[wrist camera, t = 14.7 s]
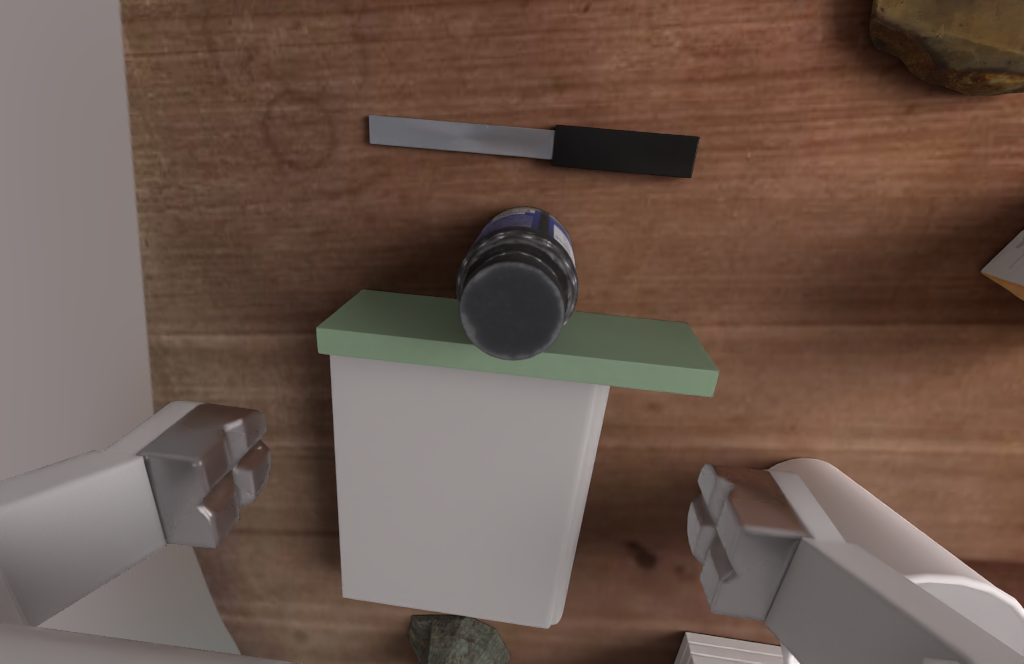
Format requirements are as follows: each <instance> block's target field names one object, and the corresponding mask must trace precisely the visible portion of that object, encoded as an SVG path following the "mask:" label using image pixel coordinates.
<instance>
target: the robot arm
mask: <svg viewBox="0 0 1024 664" xmlns="http://www.w3.org/2000/svg"><path fill="white" fill-rule="evenodd" d="M266 431H267V428H266V423H265V418H264V415H263V414H262V413H261V412H259V411H258V410H253V409H246V408H239V407H231V406H224V405H217V404H210V403H202V402H194V401H185V400H179V401H172V402H171V403H169V404H168V405H167V406H165V407H164V408H162V409H161V410H160V411H158V412H157V413H155V414H154V415H153V416H151V417H150V418H149V419H147V420H146V421H145V422H143V423H142V424H140V425H139V426H137V427H136V428H135V429H133V430H132V431H130V432H129V433H128V434H126V435H125V436H123V437H122V438H121V439H119V440H118V441H116V442H115V443H114V444H112V445H111V446H110V447H108V448H107V449H105V450H104V451H95V450H93V451H90V452H87V453H84V454H81V455H78V456H75V457H72V458H69V459H66V460H63V461H60V462H57V463H54V464H51V465H48V466H45V467H42V468H39V469H36V470H33V471H30V472H27V473H24V474H21V475H18V476H15V477H12V478H9V479H6V480H2V481H0V664H301V663H294V662H287V661H280V660H273V659H265V658H258V657H251V656H244V655H236V654H229V653H222V652H215V651H207V650H200V649H193V648H186V647H179V646H170V645H164V644H156V643H149V642H142V641H135V640H128V639H121V638H114V637H106V636H99V635H91V634H84V633H77V632H70V631H63V630H55V629H48V628H41V627H36V626H38V625H39V624H41V623H43V622H44V621H46V620H47V619H49V618H51V617H52V616H54V615H56V614H57V613H59V612H61V611H62V610H64V609H65V608H67V607H69V606H70V605H72V604H74V603H75V602H77V601H78V600H80V599H82V598H83V597H85V596H87V595H88V594H90V593H91V592H93V591H95V590H96V589H98V588H100V587H101V586H102V585H104V584H106V583H108V582H109V581H111V580H112V579H114V578H116V577H117V576H119V575H120V574H122V573H124V572H125V571H127V570H129V569H130V568H132V567H134V566H135V565H137V564H138V563H140V562H142V561H143V560H145V559H147V558H148V557H150V556H151V555H153V554H155V553H156V552H158V551H160V550H161V549H163V548H164V547H166V546H167V544H178V545H188V546H198V547H208V548H217V547H218V546H219V544H220V543H221V542H222V541H223V539H224V538H225V537H226V536H227V535H228V533H229V532H230V531H231V530H232V528H233V527H234V526H235V525H236V523H237V522H238V521H239V520H240V512H239V508H241V507H243V506H245V505H247V504H249V503H251V502H252V501H254V500H255V499H256V498H257V497H258V495H259V494H260V493H261V491H262V490H263V489H264V487H265V484H266V482H267V479H268V476H269V474H270V466H271V456H270V450H269V448H268V447H267V446H266V445H265V444H264V443H263V441H262V440H261V437H262V436H263V435H264V433H265V432H266ZM697 482H698V484H699V487H700V489H701V492H702V493H701V494H700V495H699V496H697V497H696V498H695V499H694V500H692V501H691V505H690V509H689V513H688V524H687V533H688V540H689V545H690V548H691V551H692V554H693V556H694V557H695V558H696V559H697V560H698V561H699V562H700V563H701V564H702V565H704V566H703V569H702V572H701V575H700V579H701V582H702V585H703V588H704V591H705V594H706V597H707V600H708V603H709V606H710V609H711V612H712V613H717V614H723V615H729V616H736V617H742V618H748V619H755V620H761V621H765V623H764V624H765V625H766V626H767V627H768V628H769V629H770V631H771V632H772V633H773V634H774V635H775V636H776V637H777V638H778V640H779V641H780V642H781V643H782V644H783V645H784V646H785V647H786V648H787V650H788V651H789V652H790V653H791V654H792V655H793V656H794V657H795V659H796V660H797V661H798V662H799V663H800V664H1024V657H1023V656H1022V655H1020V654H1019V653H1017V652H1016V651H1014V650H1013V649H1011V648H1010V647H1008V646H1007V645H1006V644H1004V643H1003V642H1001V641H1000V640H998V639H997V638H995V637H994V636H992V635H991V634H989V633H988V632H986V631H985V630H983V629H982V628H980V627H979V626H977V625H976V624H974V623H973V622H971V621H970V620H968V619H967V618H965V617H964V616H962V615H961V614H959V613H958V612H956V611H955V610H954V609H952V608H951V607H949V606H948V605H946V604H945V603H943V602H942V601H940V600H939V599H937V598H936V597H934V596H933V595H931V594H930V593H928V592H927V591H925V590H924V589H922V588H921V587H919V586H918V585H916V584H915V583H913V582H912V581H910V580H909V579H907V578H906V577H904V576H903V575H902V574H900V573H899V572H897V571H896V570H894V569H893V568H891V567H890V566H888V565H887V564H885V563H884V562H882V561H881V560H879V559H878V558H876V557H875V556H873V555H872V554H870V553H869V552H867V551H866V550H864V549H863V548H861V547H860V546H858V545H857V544H853V543H846V542H845V540H844V539H843V537H842V536H841V534H840V533H839V532H838V530H837V529H836V527H835V526H834V525H833V523H832V522H831V520H830V519H829V518H828V516H827V515H826V513H825V512H824V510H823V509H822V508H821V506H820V505H819V503H818V502H817V501H816V499H815V498H814V496H813V495H812V493H811V492H810V491H809V489H808V488H807V486H806V485H805V484H804V482H803V481H802V479H801V478H800V477H799V476H798V475H797V474H795V473H794V472H791V471H779V470H768V469H763V470H759V469H750V468H741V467H732V466H723V465H714V464H705V465H704V467H703V468H702V470H701V472H700V475H699V478H698V481H697ZM166 543H167V544H166Z"/></svg>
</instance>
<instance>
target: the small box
mask: <svg viewBox="0 0 1024 664" xmlns="http://www.w3.org/2000/svg"><path fill="white" fill-rule="evenodd" d="M981 273H982V274H983V275H985V276H986V277H988V278H990V279H991V280H993V281H995V282H996V283H998V284H999V285H1001V286H1002V287H1004V288H1005V289H1007V290H1008V291H1010V292H1011V293H1013V294H1014V295H1015V296H1017V297H1018V298H1020V299H1021V300H1023V301H1024V229H1023V230H1022V231H1021V232H1020V233H1019V234H1018V235H1017V236H1016V237H1015V238H1014V239H1013V240H1012V241H1011V242H1010V243H1009V244H1008V245H1007V246H1006V247H1005V248H1004V249H1003V250H1002V251H1001V252H1000V253H999V254H997V255H996V256H995V257H994V258H993V259H992V260H991V261H990V262H989V263H988V264H987V265H986V266H985V267H984V268H983V269H982V270H981Z"/></svg>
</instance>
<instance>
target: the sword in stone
mask: <svg viewBox="0 0 1024 664" xmlns="http://www.w3.org/2000/svg"><path fill="white" fill-rule="evenodd" d="M408 639H409V641H410V643H411V645H412V647H413V650H414V652H415V654H416V656H417V658H418V661H419V663H420V664H507V662H508V660H509V658H510V656H511V654H510V653H509V651H508V649H507V648H506V646H505V644H504V643H503V641H502V639H501V637H500V636H499V634H498V632H497V631H496V629H495V628H493V627H490V626H488V625H486V624H484V623H482V622H480V621H478V620H476V619H473V618H471V617H467V616H459V615H425V616H412V620H411V625H410V630H409V634H408Z"/></svg>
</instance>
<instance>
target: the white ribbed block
mask: <svg viewBox="0 0 1024 664" xmlns="http://www.w3.org/2000/svg"><path fill="white" fill-rule="evenodd" d="M674 664H784V661H783V655H782V650H781V647H780V646H774V645H767V644H761V643H754V642H748V641H741V640H735V639H728V638H722V637H715V636H709V635H703V634H696V633H690V632H686V633H685V635H684V638H683V641H682V643H681V646H680V649H679V651H678V654H677V657H676V659H675V662H674Z"/></svg>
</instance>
